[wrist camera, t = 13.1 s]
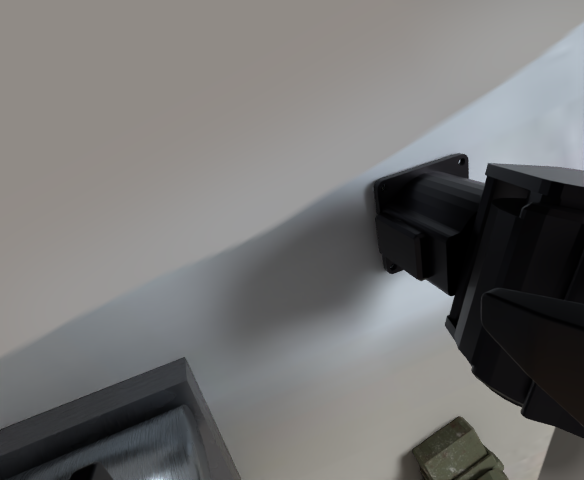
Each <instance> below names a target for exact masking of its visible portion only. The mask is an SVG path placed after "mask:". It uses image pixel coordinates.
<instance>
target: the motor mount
mask: <svg viewBox="0 0 584 480" xmlns="http://www.w3.org/2000/svg"><path fill="white" fill-rule="evenodd" d="M96 461H98V462H101V463H102V464H103V465H104V467H105V468H106V470H107V471H108V472H109V474H110V475H111V477H112V478H113V480H241V478H240V476H239V474H238V471H237V469H236V467H235V465H234V463H233V460H232V458H231V456H230V454H229V452H228V450H227V447H226V445H225V443H224V441H223V439H222V436H221V434H220V432H219V430H218V428H217V426H216V423H215V421H214V419H213V417H212V415H211V413H210V410H209V408H208V406H207V404H206V402H205V399H204V397H203V395H202V393H201V391H200V389H199V386H198V384H197V382H196V380H195V378H194V375H193V373H192V371H191V369H190V367H189V365H188V362H187V360H186V358H185V357H184V358H182V359H179V360H177V361H174V362H172V363H169V364H167V365H164V366H161V367H159V368H156V369H154V370H151V371H149V372H146V373H144V374H141V375H139V376H136V377H134V378H131V379H128V380H126V381H123V382H121V383H118V384H116V385H113V386H111V387H108V388H106V389H103V390H101V391H98V392H95V393H93V394H90V395H88V396H85V397H83V398H80V399H78V400H75V401H73V402H70V403H67V404H65V405H62V406H60V407H57V408H55V409H52V410H50V411H47V412H45V413H42V414H40V415H37V416H34V417H32V418H29V419H27V420H24V421H22V422H19V423H17V424H14V425H12V426H9V427H7V428H4V429H1V430H0V480H69V478H70V477H71V475H72V474H73V473H74V472H75V471H76V470H77V469H79V468H81V467H83V466H86V465H88V464H90V463H93V462H96Z"/></svg>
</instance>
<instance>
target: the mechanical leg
mask: <svg viewBox="0 0 584 480" xmlns="http://www.w3.org/2000/svg"><path fill="white" fill-rule="evenodd" d="M413 453H414V455H415V457H416V459H417V461H418V463H419V464H420V466H421V468H422V469H420V471H421V473H422V475H423V476H424V478H425V479H424V480H508V478H507V476H506V475H505V473H504V472H503V470H504V465H503V464H502V462H501V461H500V460H499V459H498V458H497V457H496V456H495V454H494V453H493V452H491V451H489V450H488V449H487V448H486V447H485V446H484V445H483V444H482V443H481V441H480V439H479V437H478V435H477V434H476V432H475V430H474V428H473V427H472V426H471V425H470V424H469V423H468V422H467V421H466V420H465V419H464V418H462V417H460V416H459V417H458V418H456V419H455V420H454V421H453V422H451V423H450V424H448V425H446V426H445V427H444V428H442V429H441V430H439V431H438V432H436V433H435V434H434V435H432V436H431V437H429V438H428V439H427V440H425V441H424V442H423V443H422V444H420V445H419V446H417V447H415V448H414V449H413Z"/></svg>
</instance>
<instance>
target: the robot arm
mask: <svg viewBox="0 0 584 480" xmlns="http://www.w3.org/2000/svg"><path fill="white" fill-rule="evenodd" d="M459 160H460V163H459V164H458V162H459ZM485 175H487V178H486V182H485V183H482V182H479V181H475V180H471V179H469V172H468V157H467V155H465V154H460V153H458V154H454V155H451V156H448V157H445V158H442V159H439V160H436V161H433V162H430V163H427V164H424V165H421V166H418V167H415V168H412V169H409V170H405V171H402V172H399V173H396V174H393V175H390V176H387V177H384V178H381V179H379V180H377V181H376V183H375V185H374V194H375V202H376V210H377V216H376V218H375V221H376V228H377V236H378V244H379V251H380V253H381V254H382V257H383V265H384V269H385V270H386V271H387V272H388V273H390V274H394V273H397V272H399V271H402V270H405V271H406V272H408V273H409V274H410V275H412V276H413V277H415V278H416V279H418V280H420V281H423V280H425V279H426V280H427V281H429V282H430V283H432V284H433V285H435V286H436V287H438V288H439V289H441V290H442V291H443V292H445V293H446V294H448V295H449V296H454V295H455V296H454V300H453V304H452V307H451V311H450V315H447V318H446V322H445V326H446V328H447V329H448V331H449V333H450V334H451V336H452V337H453V339H454V340H455V342H456V344H457V346H458V349H459V350H460V351H461V352H462V354H463V355H464V356H465V357H466V358H467V360H468V361H469V363H470V364H471V366H472V369H471V371H472V373H473V374H474V375H475V377H476V378H477V379H479V380H480V381H481V382H483V383H484V384H485V385H486V386H487V387H489V388H490V389H491V390H492V391H493V392H495V393H496V394H498V395H499V396H501V397H502V398H504V399H505V400H507V401H509V402H511V403H513V404H515V405H517V406H520V407H522V409H521V414H522V415H523V416H524V417H525V418H527V419H530V420H534V421H537V422H541V423H545V424H548V425H552V426H555V427H558V428H560V429H563V430H565V431H567V432H570V433H573V434H575V435H577V436H580V437H582V438H584V171H583V170H576V169H569V168H562V167H550V166H532V165H513V164H495V163H488V165H487V169H486V173H485ZM384 184H385V188H384V189H383V190H382V191H381V187H382V185H384ZM392 264H393V266H392V267H391V268H390V266H391V265H392ZM69 480H113V478H112V477H111V475H110V474H109V472H108V471H107V470H106V468H105V467H104V465H103V464H102V463H101V462H98V461H96V462H93V463H90V464H88V465H86V466H83V467H81V468H79V469H77V470H76V471H75V472H74V473H73V474H72V475H71V477H70V478H69Z"/></svg>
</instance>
